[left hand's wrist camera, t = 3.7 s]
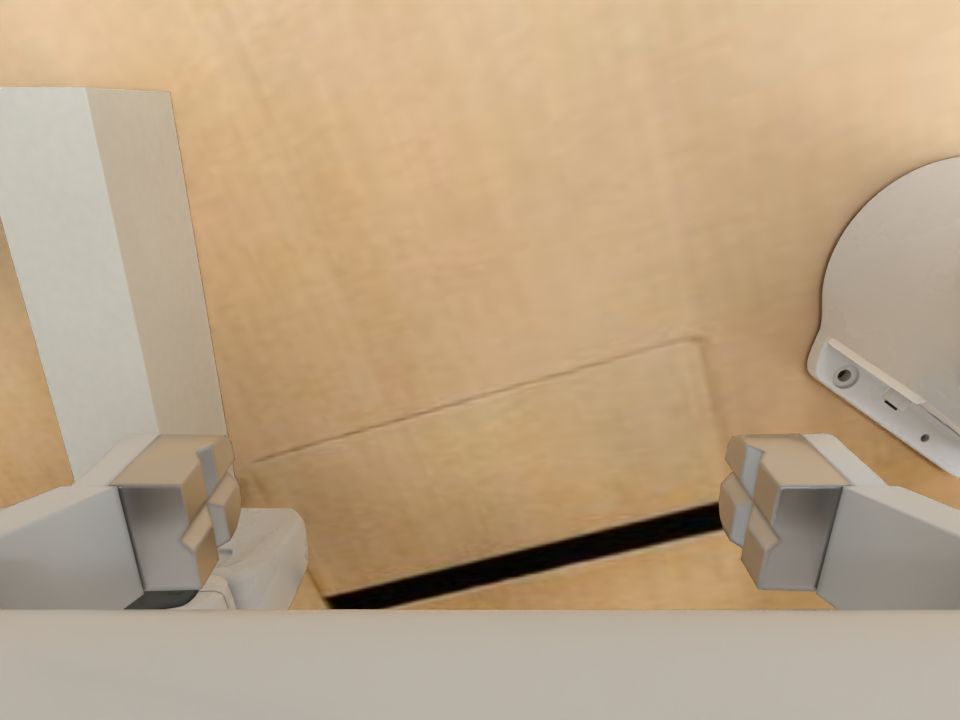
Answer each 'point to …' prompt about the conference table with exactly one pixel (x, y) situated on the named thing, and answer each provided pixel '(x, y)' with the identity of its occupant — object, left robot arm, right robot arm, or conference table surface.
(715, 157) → the conference table surface
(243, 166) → the conference table surface
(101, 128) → the bar
